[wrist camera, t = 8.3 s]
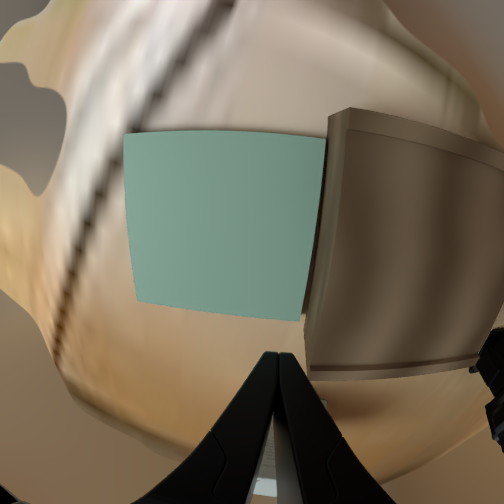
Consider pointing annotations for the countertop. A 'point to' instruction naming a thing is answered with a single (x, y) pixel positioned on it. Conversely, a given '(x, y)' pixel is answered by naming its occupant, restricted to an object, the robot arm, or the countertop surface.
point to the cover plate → (222, 219)
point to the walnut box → (404, 250)
